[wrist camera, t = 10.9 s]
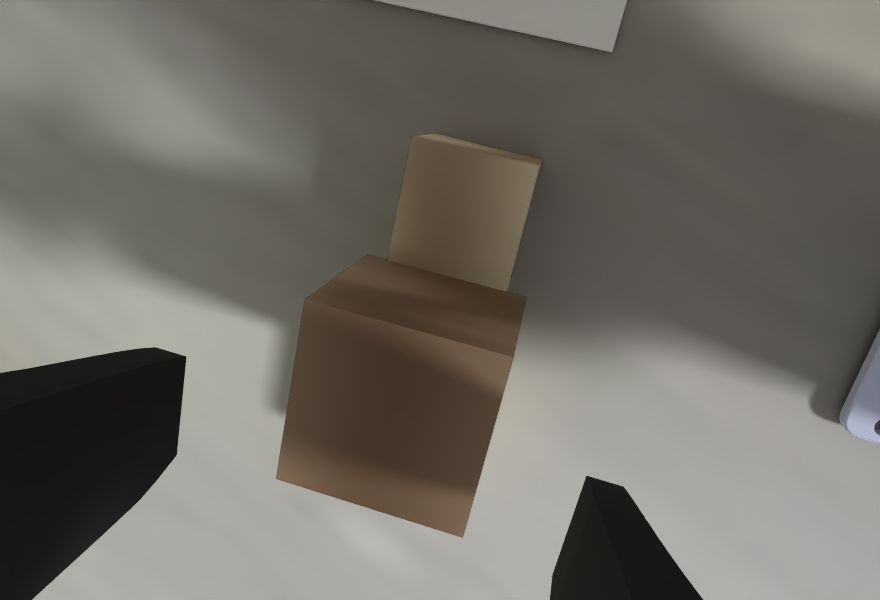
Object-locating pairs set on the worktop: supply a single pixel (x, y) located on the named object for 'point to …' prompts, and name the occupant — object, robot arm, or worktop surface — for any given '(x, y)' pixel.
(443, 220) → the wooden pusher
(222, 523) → the worktop surface
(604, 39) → the rubber mat
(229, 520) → the worktop surface
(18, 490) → the robot arm
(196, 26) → the worktop surface
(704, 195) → the worktop surface
